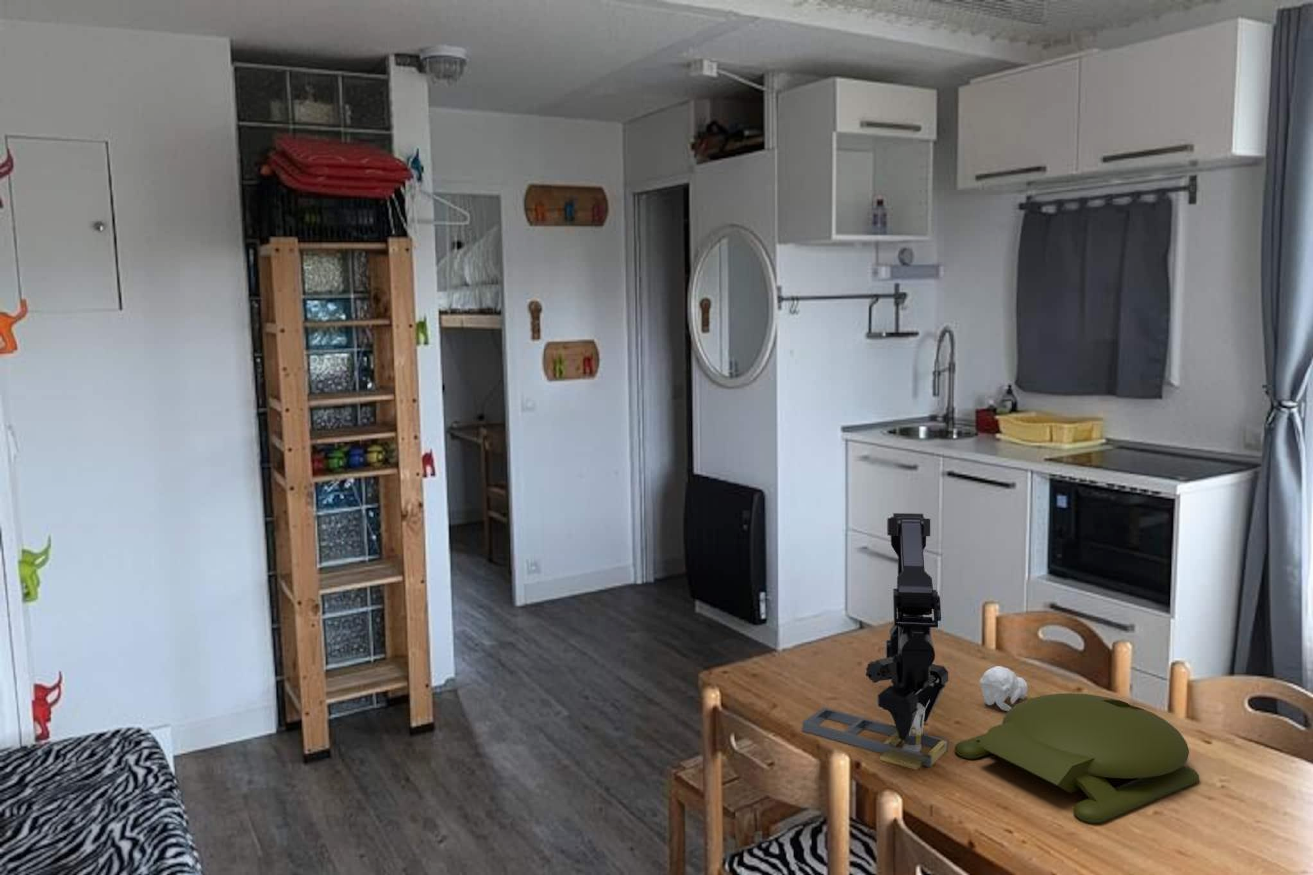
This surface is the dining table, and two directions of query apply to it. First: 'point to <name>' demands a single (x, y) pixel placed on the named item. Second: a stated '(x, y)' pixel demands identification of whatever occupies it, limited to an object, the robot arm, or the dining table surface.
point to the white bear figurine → (1002, 687)
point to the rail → (887, 748)
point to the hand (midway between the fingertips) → (913, 730)
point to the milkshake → (916, 731)
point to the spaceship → (1090, 750)
